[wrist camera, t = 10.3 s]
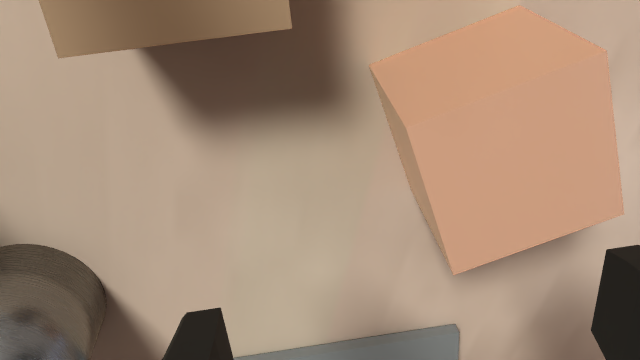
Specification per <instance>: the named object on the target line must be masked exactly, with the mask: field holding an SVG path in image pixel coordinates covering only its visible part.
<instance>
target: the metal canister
mask: <svg viewBox="0 0 640 360" xmlns="http://www.w3.org/2000/svg"><path fill="white" fill-rule="evenodd" d="M105 312H106V296H105V292H104V289H103V287H102V285H101V283H100V281H99V279H98V278H97V277H96V275H95V274H94V273H93V272H92V271H91V270H90V269H89V268H88V267H87V266H86V265H85V264H84V263H82V262H81V261H79V260H78V259H76V258H75V257H73V256H71V255H69V254H67V253H65V252H63V251H60V250H57V249H54V248H50V247H47V246H41V245H32V244H16V245H9V246H4V247H0V360H90V357H91V354H92V351H93V348H94V345H95V342H96V339H97V337H98V334H99V331H100V328H101V325H102V322H103V319H104V316H105Z"/></svg>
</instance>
